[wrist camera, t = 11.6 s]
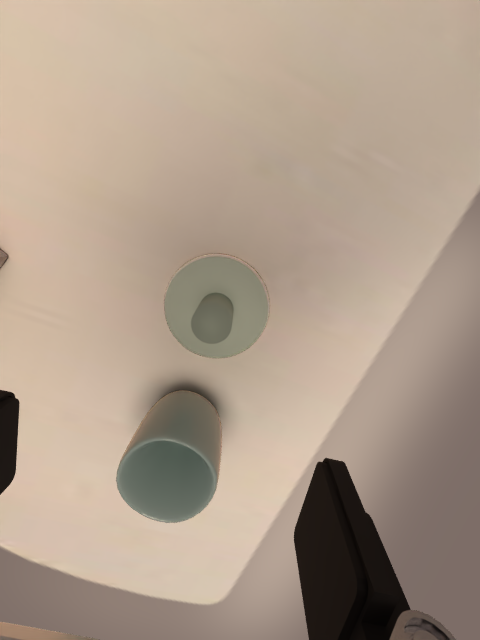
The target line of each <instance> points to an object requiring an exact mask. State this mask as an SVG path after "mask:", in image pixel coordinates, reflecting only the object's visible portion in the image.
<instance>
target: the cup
mask: <svg viewBox="0 0 480 640" xmlns="http://www.w3.org/2000/svg"><path fill="white" fill-rule="evenodd" d="M221 451H222V428H221V421H220V418H219V415H218V412H217V411H216V409H215V407H214V406H213V405H212V404H211V403H210V401H208V400H207V399H206V398H205V397H203V396H201V395H199V394H198V393H195V392H192V391H186V390H178V391H174V392H171V393H169V394H167V395H165V396H164V397H162V398H161V399H160V400H159V401H158V402H156V403H155V405H154V406H153V407H152V408H151V409H150V410H149V411H148V413H147V414H146V416H145V417H144V419H143V420H142V422H141V423H140V425H139V427H138V429H137V430H136V432H135V434H134V435H133V437H132V439H131V441H130V443H129V445H128V446H127V448H126V450H125V452H124V454H123V456H122V458H121V461H120V464H119V467H118V470H117V477H116V481H117V488H118V490H119V492H120V494H121V496H122V498H123V499H124V500H125V502H126V503H127V504H128V505H129V506H130V507H131V508H132V509H134V510H135V511H137V512H138V513H140V514H141V515H143V516H145V517H147V518H150V519H153V520H156V521H160V522H166V523H177V522H181V521H185V520H188V519H190V518H192V517H194V516H195V515H197V514H198V513H200V512H201V511H202V510H203V509H204V508H205V507H206V506H207V505H208V504H209V502H210V501H211V499H212V498H213V495H214V493H215V491H216V488H217V483H218V478H219V471H220V462H221Z"/></svg>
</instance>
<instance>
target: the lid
mask: <svg viewBox="0 0 480 640" xmlns="http://www.w3.org/2000/svg"><path fill="white" fill-rule="evenodd" d="M164 308H165V317H166V321H167V324H168V326H169V328H170V331H171V332H172V334H173V335H174V337H175V338H176V339H177V340H178V342H179V343H181V344H182V345H183V346H184V347H185V348H187V349H188V350H190V351H191V352H193V353H195V354H198V355H200V356H204V357H209V358H226V357H231V356H234V355H237V354H239V353H241V352H243V351H245V350H246V349H248V348H249V347H250V346H251V345H253V344H254V343H255V342H256V340H257V339H258V338H259V337H260V335H261V333H262V332H263V330H264V327H265V325H266V322H267V317H268V300H267V296H266V293H265V290H264V287H263V285H262V283H261V281H260V280H259V278H258V277H257V276H256V275H255V273H254V272H253V271H252V270H251V269H249V268H248V267H247V266H245V265H244V264H242V263H241V262H238V261H236V260H234V259H230V258H227V257H218V256H213V257H205V258H202V259H198V260H196V261H194V262H192V263H190V264H188V265H187V266H185V267H184V268H183V269H181V270H180V271H179V272H178V273H177V274H176V276H175V277H174V278H173V280H172V281H171V283H170V285H169V287H168V290H167V292H166V297H165V304H164Z"/></svg>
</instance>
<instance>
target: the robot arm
mask: <svg viewBox="0 0 480 640" xmlns="http://www.w3.org/2000/svg"><path fill="white" fill-rule="evenodd" d="M18 418H19V400H18V399H16V398H15V395H14V393H12V392H7V391H3V390H0V495H1V493H2V492H3V491H4V490H5V489H6V488H7V487H8V486H9V485H10V483H11V482H12V480H13V478H14V476H15V472H16V455H17V437H18ZM294 543H295V550H296V556H297V563H298V569H299V576H300V583H301V589H302V596H303V603H304V609H305V616H306V623H307V629H308V635H309V640H456V639H455V638H454V636H453V635H452V634H451V632H450V631H448V630H447V629H446V628H445V627H444V626H443V625H442V624H441V623H440V622H438V621H437V620H435V619H434V618H433V617H431V616H430V615H428V614H425V613H423V612H420V611H417V610H410V607H409V605H408V602H407V600H406V598H405V595H404V593H403V591H402V588H401V586H400V584H399V581H398V579H397V577H396V574H395V573H394V570H393V567H392V565H391V563H390V560H389V558H388V556H387V553H386V551H385V549H384V546H383V544H382V542H381V539H380V537H379V535H378V532H377V530H376V528H375V525H374V523H373V520H372V519H371V517H370V515H369V514H367V513H365V510H364V508H363V505H362V503H361V500H360V498H359V496H358V493H357V491H356V489H355V486H354V484H353V481H352V479H351V476H350V474H349V472H348V469H347V467H346V465H345V463H344V462H343V461H338V460H333V459H328V458H325V459H324V461H323V462H318V463H317V465H316V468H315V471H314V474H313V477H312V480H311V483H310V486H309V488H308V492H307V494H306V497H305V500H304V503H303V506H302V509H301V512H300V515H299V518H298V521H297V524H296V527H295V532H294ZM0 640H99V639H94V638H88V637H83V636H77V635H72V634H66V633H61V632H55V631H50V630H44V629H39V628H33V627H27V626H22V625H17V624H11V623H5V622H0Z"/></svg>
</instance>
